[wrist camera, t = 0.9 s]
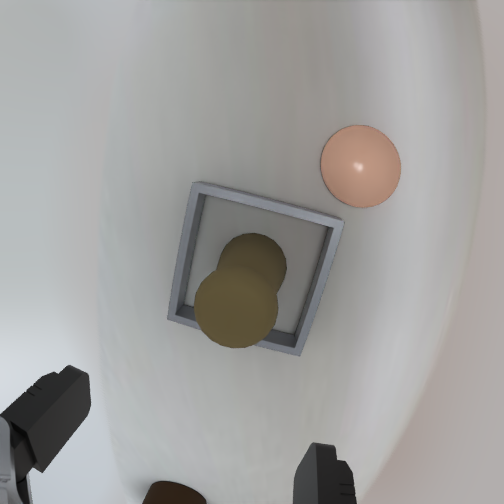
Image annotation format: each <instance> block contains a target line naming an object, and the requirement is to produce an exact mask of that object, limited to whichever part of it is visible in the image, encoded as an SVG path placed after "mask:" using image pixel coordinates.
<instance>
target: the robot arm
mask: <svg viewBox="0 0 504 504" xmlns="http://www.w3.org/2000/svg"><path fill="white" fill-rule="evenodd" d="M90 407H91V397H90V383H89V375H88V374H87V373H86V372H84V371H81V370H79V369H77V368H75V367H73V366H71V365H68V366H66V367H65V368H64V369H63V370H62V371H61V372H60V373H59V374H58V373H56V372H52V373H49V374H47V375H44V376H42V377H41V378H40V379H38V380H37V381H36V383H34V385H33V386H31V387H30V388H28V389H27V391H26V392H24V393H23V394H22V395H21V396H20V397H19V398H18V399H16V401H14V402H13V403H12V404H11V405H10V406H9V407H8V408H7V409H6V410H5V411H3V412H2V413H1V414H0V504H33V501H32V494H31V487H30V479H29V473H28V472H29V471H30V470H31V469H32V467H33V468H35V469H37V470H38V471H40V472H41V473H43V472H44V471H45V469H46V468H47V467H48V465H49V464H50V463H51V461H52V460H53V459H54V457H55V456H56V455H57V454H58V452H59V451H60V450H61V449H62V447H63V446H64V445H65V444H66V442H67V441H68V440H69V438H70V437H71V436H72V435H73V433H74V432H75V431H76V430H77V428H78V427H79V426H80V425H81V423H82V422H83V421H84V420H85V418H86V417H87V415H88V413H89V410H90ZM293 504H357V501H356V497H355V487H354V479H353V472H352V471H351V469H350V468H349V466H348V464H347V463H346V461H341V460H337V455H336V448H335V446H334V445H328V444H321V443H314V442H313V443H312V444H311V445H310V447H309V449H308V450H307V452H306V454H305V456H304V457H303V459H302V461H301V462H300V464H299V466H298V468H297V470H296V473H295V477H294V489H293Z"/></svg>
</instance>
